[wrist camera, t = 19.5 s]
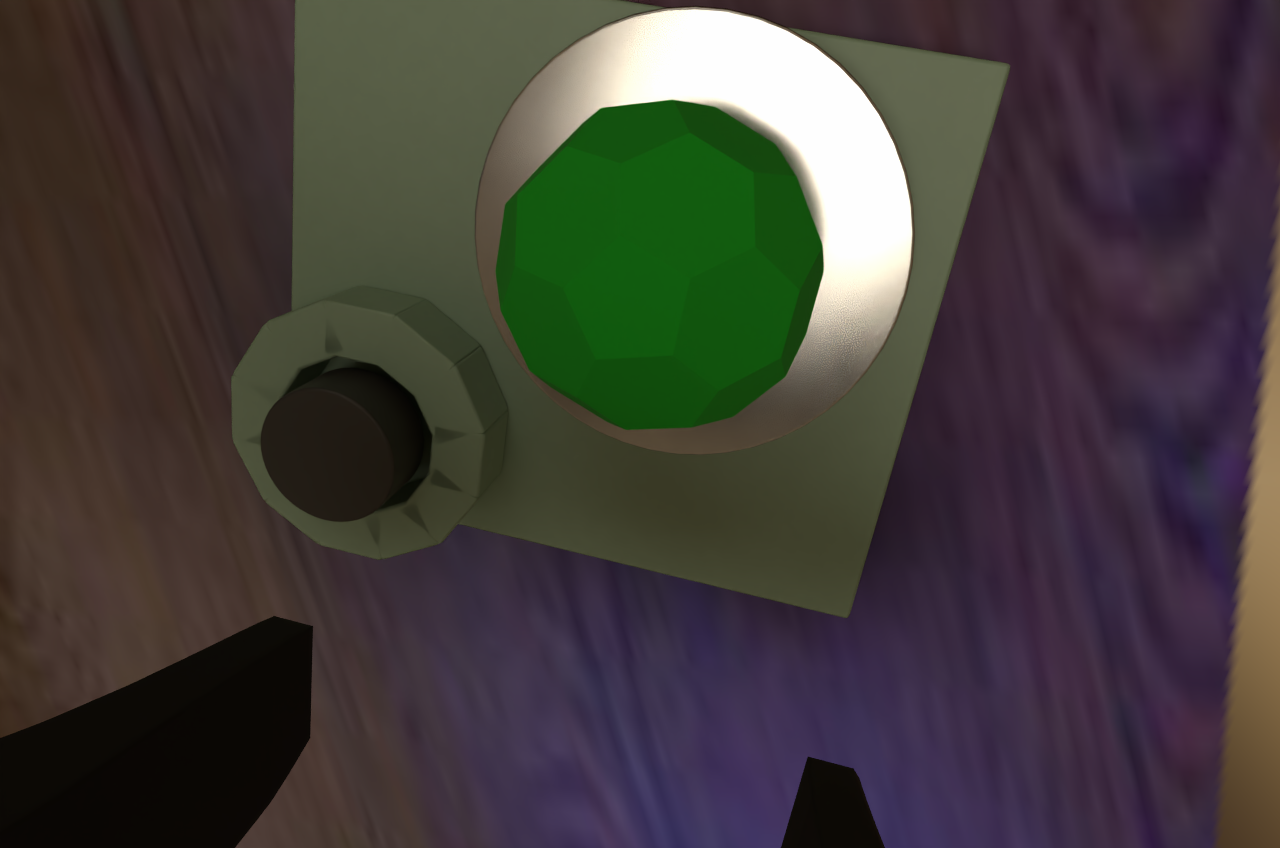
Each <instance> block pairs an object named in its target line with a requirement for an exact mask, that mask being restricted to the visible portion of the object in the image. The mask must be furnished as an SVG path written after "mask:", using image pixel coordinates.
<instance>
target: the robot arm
mask: <svg viewBox="0 0 1280 848" xmlns="http://www.w3.org/2000/svg"><path fill="white" fill-rule="evenodd" d="M312 639H313V626H310V625H306V624H302V623H299V622H295V621H291V620H287V619H283V618H280V617H276V616H273V617H271V618H269V619H266V620H264V621H262V622H260V623H257V624H255V625H253V626H251V627H249V628H247V629H245V630H242V631H240V632H238V633H236V634H234V635H232V636H230V637H228V638H226V639H224V640H222V641H220V642H218V643H216V644H214V645H212V646H210V647H207V648H205V649H203V650H201V651H199V652H197V653H195V654H193V655H191V656H189V657H187V658H185V659H183V660H181V661H179V662H176V663H174V664H172V665H170V666H168V667H166V668H164V669H162V670H160V671H158V672H155V673H153V674H151V675H149V676H147V677H145V678H143V679H141V680H139V681H137V682H134V683H132V684H130V685H128V686H126V687H123V688H121V689H119V690H116V691H114V692H112V693H109V694H107V695H105V696H102V697H100V698H98V699H95V700H93V701H91V702H89V703H86V704H84V705H82V706H79V707H77V708H75V709H72V710H70V711H68V712H65V713H63V714H61V715H58V716H56V717H54V718H52V719H49V720H47V721H44V722H41V723H39V724H36V725H34V726H31V727H29V728H26V729H24V730H21V731H18V732H16V733H13V734H10V735H8V736H5V737H2V738H0V848H235V847H236V846H237V844H238V843H239V842H240V841H241V839H242V838H243V837H244V836H245V834H246V833H247V832H248V831H249V829H250V828H251V827H252V825H253V824H254V823H255V822H256V820H257V819H258V818H259V817H260V815H261V814H262V813H263V811H264V810H265V809H266V807H267V806H268V805H269V804H270V802H271V801H272V799H273V798H274V796H275V795H276V793H277V791H278V790H279V788H280V787H281V785H282V784H283V782H284V780H285V779H286V777H287V776H288V774H289V773H290V771H291V769H292V768H293V766H294V764H295V762H296V761H297V759H298V757H299V756H300V754H301V752H302V751H303V749H304V747H305V746H306V744H307V742H308V741H309V739H310V721H311V680H312ZM781 848H885V847H884V844H883V842H882V839H881V837H880V834H879V832H878V829H877V827H876V824H875V821H874V819H873V816H872V814H871V811H870V808H869V805H868V802H867V800H866V797H865V794H864V791H863V788H862V785H861V782H860V779H859V777H858V775H857V774H856V772H855V771H854V769H853V768H849V767H845V766H841V765H838V764H834V763H830V762H826V761H822V760H819V759H815V758H811V757H808V758H807V761H806V765H805V768H804V772H803V775H802V778H801V782H800V785H799V789H798V792H797V795H796V799H795V802H794V806H793V809H792V812H791V816H790V819H789V823H788V826H787V829H786V833H785V836H784V840H783V843H782V846H781Z"/></svg>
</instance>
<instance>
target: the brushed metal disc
mask: <svg viewBox="0 0 1280 848" xmlns="http://www.w3.org/2000/svg"><path fill="white" fill-rule="evenodd" d="M672 99H674V100H679V101H685V102H691V103H697V104H702V105H708V106H714V107H717V108H718V109H720V110H722V111H723V112H725V113H727V114H728V115H730V116H731V117H733V118H735V119H736V120H738V121H739V122H741V123H743V124H744V125H746V126H747V127H749V128H751V129H752V130H754V131H755V132H757V133H759V134H760V135H762V136H763V137H765V138H767V139H768V140H770V141H772V142H773V143H775V144H776V145H777V147H778V148H779V150H780V151H781V153H782V154H783V156H784V157H785V159H786V161H787V162H788V164H789V165H790V167H791V168H792V170H793V171H794V173H795V174H796V176H797V178H798V181H799V184H800V186H801V189H802V192H803V194H804V197H805V200H806V202H807V205H808V208H809V210H810V213H811V215H812V218H813V221H814V223H815V226H816V229H817V231H818V234H819V237H820V239H821V242H822V245H823V258H824V273H823V277H822V280H821V284H820V287H819V291H818V294H817V298H816V301H815V305H814V308H813V312H812V315H811V319H810V322H809V326H808V329H807V333H806V336H805V338H804V340H803V342H802V344H801V346H800V348H799V350H798V352H797V354H796V356H795V358H794V361H793V363H792V365H791V367H790V369H789V371H788V373H787V375H786V377H785V378H783V379H782V380H781V381H780V382H778V383H777V384H776V385H774V386H773V387H772V388H770V389H769V390H768V391H766V392H765V393H764V394H763V395H761V396H760V397H759V398H757V399H756V400H755V401H753V402H752V403H751V404H749V405H748V406H747V407H746V408H744V409H743V410H742V411H740V412H739V413H738V414H736V415H735V416H734V417H731V418H727V419H723V420H720V421H716V422H712V423H708V424H704V425H700V426H696V427H692V428H669V429H640V430H625V429H622V428H620V427H618V426H615V425H613V424H611V423H608V422H606V421H605V420H603V419H601V418H600V417H598V416H596V415H595V414H593V413H592V412H590V411H588V410H587V409H585V408H583V407H582V406H580V405H579V404H577V403H575V402H574V401H572V400H570V399H569V398H567V397H565V396H564V395H562V394H561V393H559V392H557V391H556V390H554V389H552V388H551V387H550V386H548V385H547V384H546V383H545V382H543V381H542V380H541V379H539V378H538V377H537V376H535V375H534V374H533V373H532V372H530V371H529V369H528V367H527V365H526V362H525V360H524V358H523V356H522V354H521V352H520V350H519V348H518V346H517V344H516V342H515V340H514V338H513V336H512V333H511V331H510V329H509V327H508V325H507V323H506V321H505V319H504V317H503V315H502V313H501V311H500V303H499V295H498V287H497V280H496V272H495V270H496V263H497V256H498V250H499V243H500V236H501V229H502V222H503V215H504V208H505V204H506V202H507V201H508V200H509V199H510V198H511V197H512V196H513V195H514V194H515V193H516V191H517V190H518V189H519V188H520V187H521V186H522V185H523V184H524V183H525V182H526V180H527V179H528V178H529V177H530V176H531V175H532V174H533V173H534V172H535V171H536V170H537V168H538V167H539V166H540V165H541V164H542V163H543V162H544V161H545V160H546V159H547V158H548V157H549V156H550V155H551V154H552V153H553V152H554V151H555V150H556V149H557V148H558V147H559V146H560V145H561V144H562V143H563V142H564V141H565V140H566V139H567V138H568V137H569V136H570V135H571V134H572V133H573V132H574V131H575V130H576V129H577V128H578V127H579V126H580V125H581V124H582V123H583V122H584V121H586V120H587V119H588V118H589V117H590V116H592V115H593V114H594V113H595V112H597V111H598V110H599V109H600V108H604V107H613V106H621V105H630V104H638V103H647V102H655V101H664V100H672ZM914 243H915V223H914V207H913V199H912V194H911V189H910V184H909V179H908V174H907V170H906V167H905V165H904V162H903V159H902V156H901V153H900V150H899V148H898V145H897V142H896V140H895V138H894V136H893V134H892V132H891V130H890V128H889V126H888V124H887V122H886V120H885V119H884V117H883V115H882V113H881V111H880V110H879V109H878V107H877V106H876V104H875V103H874V102H873V100H872V99H871V97H870V96H869V95H868V93H867V92H866V90H865V89H864V88H863V86H862V85H861V84H860V83H859V82H858V81H857V80H856V79H855V78H854V77H853V76H852V75H851V74H850V73H849V72H848V71H847V69H846V68H845V67H844V66H843V65H842V64H841V63H839V62H838V61H837V60H836V59H834V58H833V57H832V56H831V55H829V54H828V53H827V52H826V51H824V50H823V49H822V48H820V47H819V46H818V45H817V44H815V43H814V42H812V41H810V40H808V39H807V38H805V37H803V36H801V35H800V34H798V33H796V32H794V31H793V30H791V29H789V28H787V27H785V26H782V25H780V24H777V23H775V22H772V21H770V20H767V19H765V18H762V17H760V16H756V15H752V14H748V13H744V12H740V11H735V10H731V9H726V8H715V7H704V6H685V7H667V8H661V9H656V10H651V11H646V12H641V13H636V14H633V15H630V16H627V17H624V18H621V19H619V20H616V21H613V22H610V23H608V24H605V25H603V26H601V27H599V28H597V29H596V30H594V31H592V32H590V33H588V34H586V35H584V36H582V37H580V38H579V39H577V40H576V41H574V42H573V43H572V44H570V45H569V46H568V47H566V48H565V49H563V50H562V51H561V52H559V53H558V54H556V55H555V56H554V57H553V58H552V59H551V60H550V61H549V62H548V63H546V64H545V65H544V66H543V67H542V68H541V69H540V70H539V71H538V72H537V73H536V74H535V75H534V76H533V77H532V78H531V79H530V81H529V82H528V83H527V84H526V86H525V87H524V88H523V90H522V91H521V92H520V93H519V95H518V96H517V97H516V98H515V100H514V101H513V103H512V104H511V106H510V108H509V109H508V111H507V113H506V115H505V116H504V118H503V120H502V121H501V123H500V125H499V126H498V129H497V131H496V133H495V136H494V138H493V140H492V143H491V145H490V147H489V150H488V152H487V156H486V159H485V163H484V166H483V170H482V173H481V177H480V180H479V187H478V193H477V200H476V207H475V247H476V257H477V266H478V270H479V275H480V279H481V284H482V288H483V292H484V295H485V298H486V301H487V304H488V307H489V309H490V312H491V315H492V318H493V320H494V322H495V324H496V326H497V328H498V330H499V332H500V334H501V336H502V338H503V340H504V342H505V344H506V345H507V347H508V348H509V350H510V351H511V353H512V354H513V356H514V357H515V359H516V361H517V362H518V364H519V365H520V366H521V367H522V369H523V370H524V371H525V372H526V373H527V375H528V376H529V377H530V378H531V379H532V381H533V382H534V383H535V384H536V385H537V386H538V387H539V388H540V389H541V390H542V391H543V392H544V393H545V394H546V395H547V396H548V397H549V398H550V399H552V400H553V401H554V402H555V403H556V404H557V405H559V406H560V407H561V408H563V409H564V410H565V411H567V412H568V413H569V414H571V415H572V416H573V417H575V418H576V419H578V420H579V421H581V422H583V423H585V424H586V425H588V426H590V427H592V428H593V429H595V430H597V431H599V432H601V433H603V434H605V435H608V436H610V437H612V438H615V439H617V440H619V441H622V442H624V443H628V444H631V445H635V446H638V447H642V448H645V449H649V450H655V451H661V452H667V453H673V454H692V455H706V454H718V453H729V452H733V451H738V450H743V449H748V448H752V447H756V446H759V445H762V444H765V443H768V442H770V441H773V440H776V439H779V438H781V437H783V436H785V435H787V434H789V433H792V432H794V431H796V430H798V429H800V428H802V427H804V426H805V425H807V424H808V423H810V422H811V421H813V420H814V419H816V418H817V417H819V416H820V415H822V414H823V413H825V412H827V411H828V410H829V409H830V408H831V407H832V406H834V405H835V404H836V403H837V402H838V401H839V400H841V399H842V398H843V397H844V396H845V395H846V394H848V393H849V392H850V390H851V389H852V388H853V387H854V386H855V385H856V384H857V383H858V381H859V380H860V379H861V378H862V377H863V376H864V375H865V374H866V373H867V371H868V370H869V368H870V367H871V366H872V364H873V363H874V361H875V360H876V358H877V357H878V355H879V354H880V352H881V351H882V349H883V348H884V346H885V344H886V342H887V340H888V338H889V336H890V334H891V332H892V330H893V328H894V326H895V324H896V322H897V320H898V317H899V314H900V312H901V309H902V306H903V303H904V300H905V297H906V294H907V290H908V285H909V281H910V276H911V271H912V266H913V257H914Z"/></svg>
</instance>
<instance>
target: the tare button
mask: <svg viewBox="0 0 1280 848" xmlns="http://www.w3.org/2000/svg"><path fill="white" fill-rule="evenodd" d="M423 449H424V435H423V429H422V425H421V421H420V418H419V416H418V413H417V412H416V410H415V408H414V406H413V404H412V403H411V401H410V400H409V398H408V397H407V396H406V395H405V394H404V393H403V391H401V390H400V389H399V388H398V387H397V386H396V385H395V384H394V383H392V382H391V381H389V380H388V379H386V378H385V377H383V376H381V375H379V374H377V373H374V372H372V371H368V370H365V369H359V368H338V369H334V370H331V371H328V372H326V373H324V374H322V375H320V376H318V377H316V378H315V379H313V380H311V381H309V382H307V383H306V384H304V385H302V386H300V387H298V388H297V389H295V390H293V391H291V392H289V393H288V394H286V395H284V396H283V397H281V398H280V399H279V400H278V401H277V402H276V403H275V404H274V405H273V406H272V407H271V409H270V410H269V412H268V414H267V416H266V418H265V420H264V423H263V426H262V431H261V452H262V457H263V461H264V464H265V467H266V469H267V472H268V474H269V476H270V478H271V479H272V481H273V483H274V484H275V486H276V487H277V488H278V490H279V491H280V492H281V493H282V494H283V495H284V496H285V498H287V499H288V500H289V501H290V502H291V503H292V504H293V505H295V506H296V507H298V508H299V509H300V510H302V511H304V512H306V513H307V514H310V515H312V516H314V517H317V518H320V519H323V520H328V521H334V522H347V521H354V520H359V519H361V518H364V517H367V516H368V515H370V514H372V513H374V512H375V511H376V510H377V509H379V508H380V507H381V506H382V505H383V504H384V503H385V502H386V501H387V500H388V499H389V498H391V497H392V496H393V495H394V494H395V493H396V492H397V491H398V490H399V489H400V488H401V487H402V486H404V485H405V484H406V483H407V482H408V481H409V480H410V479H411V478H412V476H413V475H414V474H415V472H416V471H417V469H418V467H419V465H420V463H421V459H422V456H423Z"/></svg>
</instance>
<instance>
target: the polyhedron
mask: <svg viewBox="0 0 1280 848" xmlns="http://www.w3.org/2000/svg"><path fill="white" fill-rule="evenodd" d="M495 272H496V280H497V287H498V295H499V303H500V311H501V313H502V315H503V317H504V319H505V321H506V323H507V325H508V327H509V329H510V331H511V333H512V336H513V338H514V340H515V342H516V344H517V346H518V348H519V350H520V352H521V354H522V356H523V358H524V360H525V362H526V365H527V367H528V369H529V371H530V372H532V373H533V374H534V375H535V376H537V377H538V378H539V379H541V380H542V381H543V382H545V383H546V384H547V385H548V386H550V387H551V388H552V389H554V390H556V391H557V392H559V393H561V394H562V395H564V396H565V397H567V398H569V399H570V400H572V401H574V402H575V403H577V404H579V405H580V406H582V407H583V408H585V409H587V410H588V411H590V412H592V413H593V414H595V415H596V416H598V417H600V418H601V419H603V420H605V421H606V422H608V423H611V424H613V425H615V426H618V427H620V428H622V429H625V430H640V429H669V428H692V427H696V426H700V425H704V424H708V423H712V422H716V421H720V420H723V419H727V418H731V417H734V416H735V415H736V414H738V413H739V412H740V411H742V410H743V409H744V408H746V407H747V406H748V405H749V404H751V403H752V402H753V401H755V400H756V399H757V398H759V397H760V396H761V395H763V394H764V393H765V392H766V391H768V390H769V389H770V388H772V387H773V386H774V385H776V384H777V383H778V382H780V381H781V380H782V379H783V378H785V377H786V375H787V373H788V371H789V369H790V367H791V365H792V363H793V361H794V358H795V356H796V354H797V352H798V350H799V348H800V346H801V344H802V342H803V340H804V338H805V336H806V333H807V329H808V326H809V322H810V319H811V315H812V312H813V308H814V305H815V301H816V298H817V294H818V291H819V287H820V284H821V280H822V277H823V273H824V258H823V245H822V242H821V239H820V237H819V234H818V231H817V229H816V226H815V223H814V221H813V218H812V215H811V213H810V210H809V208H808V205H807V202H806V200H805V197H804V194H803V192H802V189H801V186H800V184H799V181H798V178H797V176H796V174H795V173H794V171H793V170H792V168H791V167H790V165H789V164H788V162H787V161H786V159H785V157H784V156H783V154H782V153H781V151H780V150H779V148H778V147H777V145H776V144H775V143H773V142H772V141H770V140H768V139H767V138H765V137H763V136H762V135H760V134H759V133H757V132H755V131H754V130H752V129H751V128H749V127H747V126H746V125H744V124H743V123H741V122H739V121H738V120H736V119H735V118H733V117H731V116H730V115H728V114H727V113H725V112H723V111H722V110H720V109H718V108H717V107H714V106H708V105H702V104H697V103H691V102H685V101H679V100H674V99H672V100H664V101H655V102H647V103H638V104H630V105H621V106H613V107H604V108H600V109H599V110H598V111H597V112H595V113H594V114H593V115H592V116H590V117H589V118H588V119H587V120H586V121H584V122H583V123H582V124H581V125H580V126H579V127H578V128H577V129H576V130H575V131H574V132H573V133H572V134H571V135H570V136H569V137H568V138H567V139H566V140H565V141H564V142H563V143H562V144H561V145H560V146H559V147H558V148H557V149H556V150H555V151H554V152H553V153H552V154H551V155H550V156H549V157H548V158H547V159H546V160H545V161H544V162H543V163H542V164H541V165H540V166H539V167H538V168H537V170H536V171H535V172H534V173H533V174H532V175H531V176H530V177H529V178H528V179H527V180H526V182H525V183H524V184H523V185H522V186H521V187H520V188H519V189H518V190H517V191H516V193H515V194H514V195H513V196H512V197H511V198H510V199H509V200H508V201H507V202H506V204H505V208H504V215H503V222H502V229H501V236H500V243H499V250H498V256H497V263H496V270H495Z"/></svg>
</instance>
